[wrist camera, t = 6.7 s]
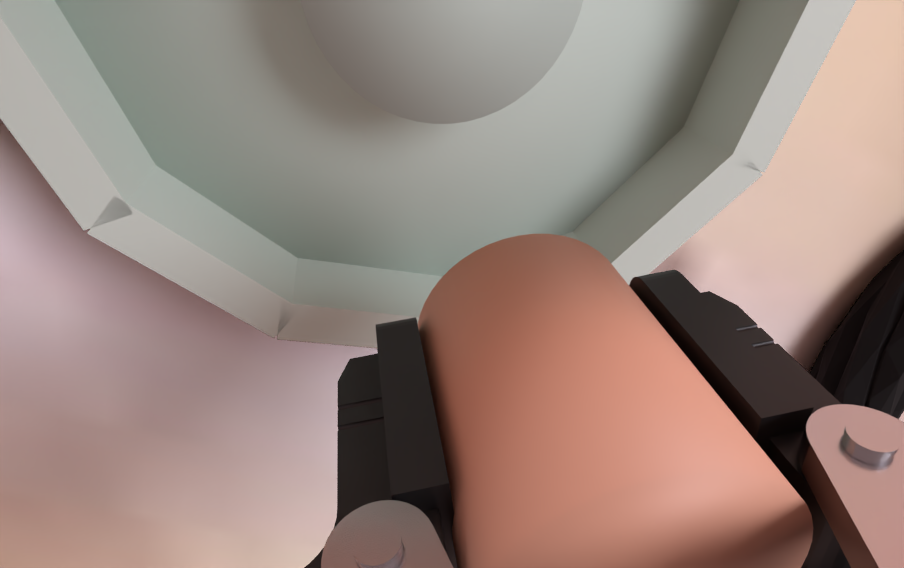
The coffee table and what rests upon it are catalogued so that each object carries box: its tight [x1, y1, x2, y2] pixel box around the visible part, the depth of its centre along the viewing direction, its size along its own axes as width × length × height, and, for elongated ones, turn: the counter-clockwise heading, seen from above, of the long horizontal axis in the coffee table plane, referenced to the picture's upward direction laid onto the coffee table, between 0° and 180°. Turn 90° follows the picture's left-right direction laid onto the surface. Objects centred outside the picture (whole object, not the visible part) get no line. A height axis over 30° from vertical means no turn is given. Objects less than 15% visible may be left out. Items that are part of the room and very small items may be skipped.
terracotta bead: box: [418, 234, 813, 568], centre depth 8 cm, size 4×4×5 cm
